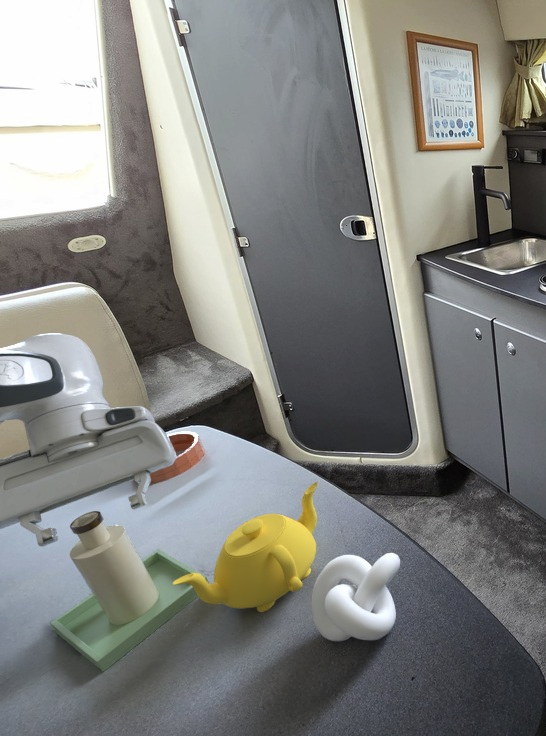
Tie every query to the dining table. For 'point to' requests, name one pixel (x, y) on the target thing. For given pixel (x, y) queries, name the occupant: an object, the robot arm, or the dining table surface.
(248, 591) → the teapot
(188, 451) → the ring
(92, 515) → the bottle
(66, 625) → the tray
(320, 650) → the dining table surface
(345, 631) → the white knot
